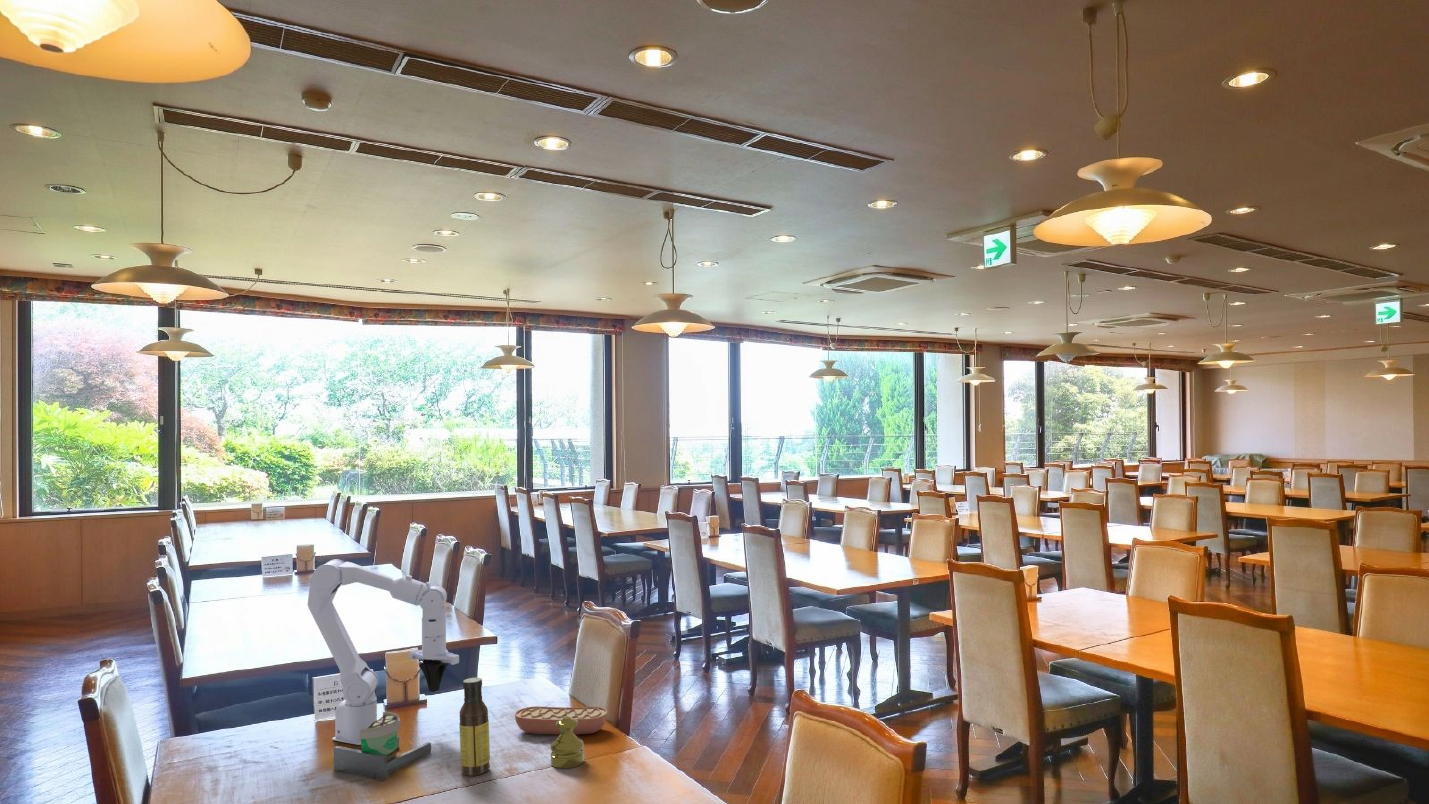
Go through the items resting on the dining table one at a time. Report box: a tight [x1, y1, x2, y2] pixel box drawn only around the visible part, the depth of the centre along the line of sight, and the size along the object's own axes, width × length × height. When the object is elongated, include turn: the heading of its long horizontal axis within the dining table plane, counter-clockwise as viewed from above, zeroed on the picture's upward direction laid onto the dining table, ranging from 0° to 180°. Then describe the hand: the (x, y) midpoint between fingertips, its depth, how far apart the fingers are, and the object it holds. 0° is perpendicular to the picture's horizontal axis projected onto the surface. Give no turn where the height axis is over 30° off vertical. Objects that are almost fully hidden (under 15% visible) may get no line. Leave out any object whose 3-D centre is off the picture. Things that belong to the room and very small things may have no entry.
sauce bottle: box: [458, 677, 491, 777], centre depth 187 cm, size 6×6×20 cm
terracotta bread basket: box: [514, 705, 608, 736], centre depth 210 cm, size 23×10×5 cm, turn 86°
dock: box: [333, 736, 432, 782], centre depth 192 cm, size 15×16×5 cm
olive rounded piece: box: [550, 717, 585, 769], centre depth 191 cm, size 7×8×10 cm
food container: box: [360, 711, 402, 761], centre depth 191 cm, size 12×6×10 cm, turn 177°
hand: (434, 690), depth 212 cm, fingers closed
